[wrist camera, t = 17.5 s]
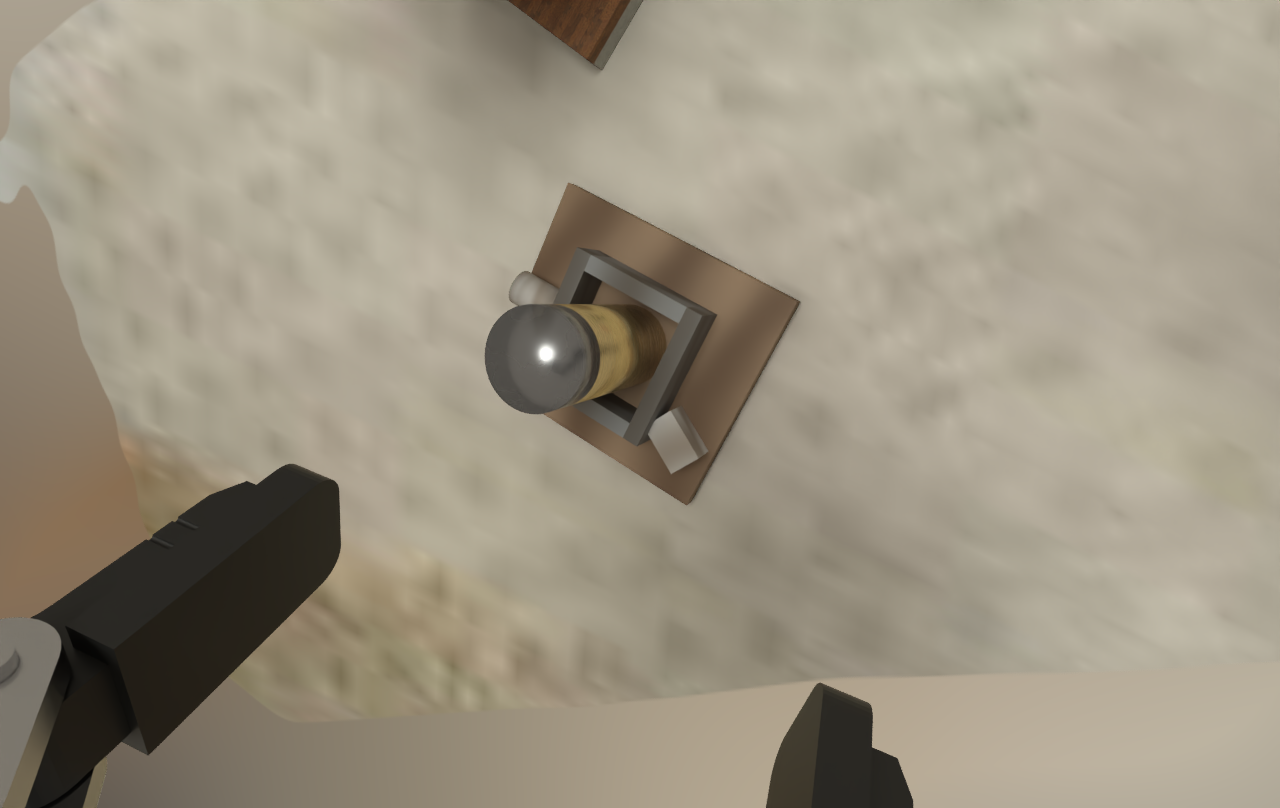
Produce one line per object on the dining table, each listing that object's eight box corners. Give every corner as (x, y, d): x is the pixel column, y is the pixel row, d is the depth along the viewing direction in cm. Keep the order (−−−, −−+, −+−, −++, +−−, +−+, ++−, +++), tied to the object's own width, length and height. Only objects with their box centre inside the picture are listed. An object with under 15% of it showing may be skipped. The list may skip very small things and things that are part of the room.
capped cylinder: (679, 325, 41) (598, 333, 30) (646, 399, 42) (557, 433, 31) (609, 290, 42) (506, 286, 31) (579, 363, 43) (471, 384, 32)
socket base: (800, 301, 39) (787, 301, 35) (691, 501, 43) (670, 519, 40) (575, 185, 43) (543, 174, 39) (496, 377, 47) (461, 383, 44)
